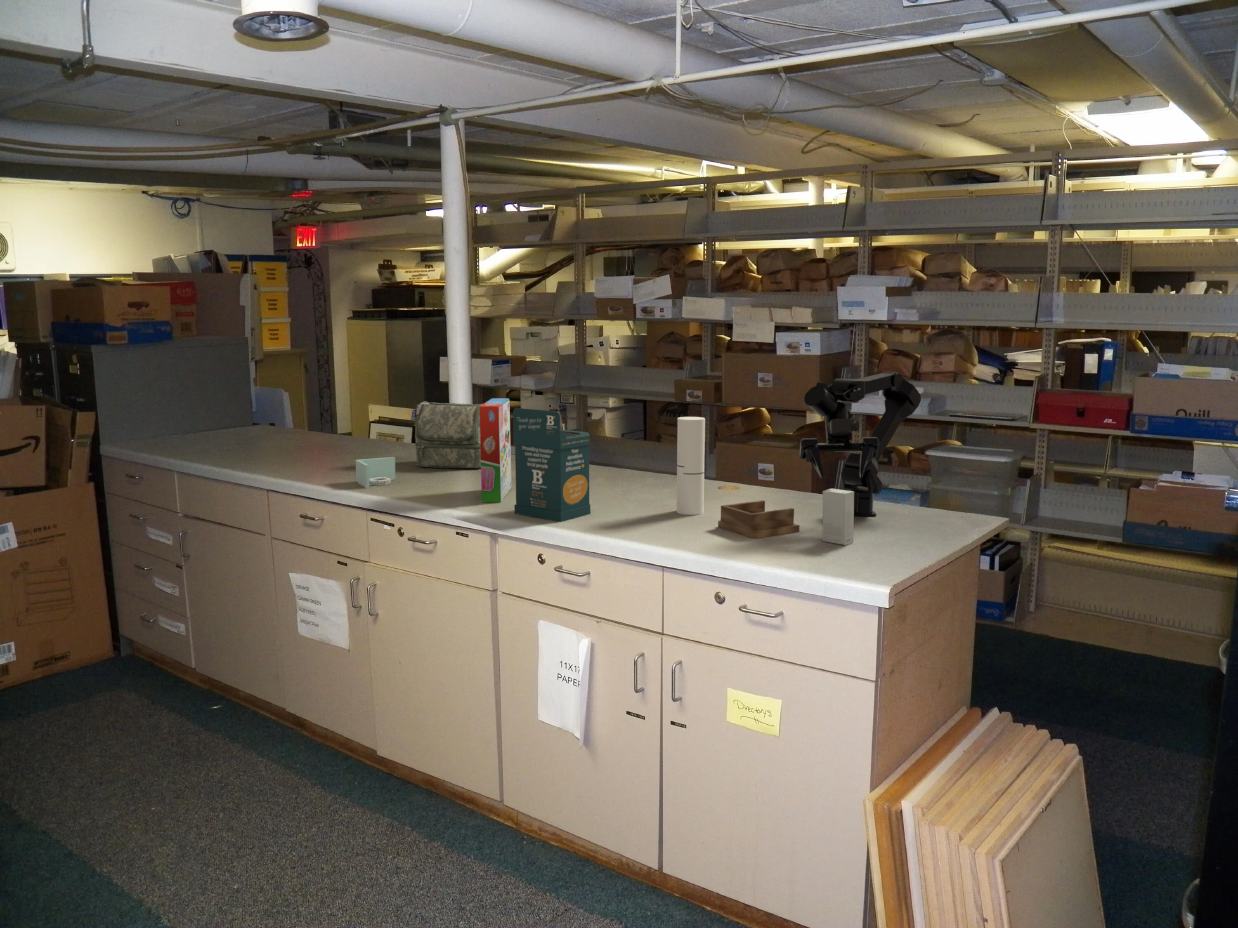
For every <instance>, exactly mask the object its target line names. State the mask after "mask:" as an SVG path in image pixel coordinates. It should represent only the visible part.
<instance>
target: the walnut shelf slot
mask: <svg viewBox="0 0 1238 928" xmlns="http://www.w3.org/2000/svg"><path fill="white" fill-rule="evenodd" d="M794 518H795V508H792V507H791V508H789V507H788V508H783V509H775V510H768V511H766V501H765V500H763V499H761V500H754V501H747V502H739V503H738V502H737V503H731V504H723V505H720V520H717V527H718V528H721V529H725V530H728V531H730V532H733V533H737V534H739V535H742V536H745V537H747V538H748V537H749V538H751V539H759V538H765V537H771V536H778V535H784V534H791V533H797V532H800V527H801V526H800V524H796V523H795V521H794Z"/></svg>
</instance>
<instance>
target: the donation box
mask: <svg viewBox="0 0 1238 928" xmlns="http://www.w3.org/2000/svg"><path fill="white" fill-rule="evenodd" d="M512 417H513V418H512V419H513V420H512V421H513V423H512V426H513V427H512V429H513V430H512V431H513V432H512V434H513V435H512V437H513V438H512V439H513V445H514V453H515V454H514V458H515V459H514V462H515V504H514V505H513V506H514V507H513V508H514V509H513V510H514V514H515V515H520V516H527V517H531V518H537V519H542V520H550V521H554V522H560V523H562V522H566V521H570V520H574V519H578V518H580V517H581V518H582V517H585V516H588V515H591V504H590V445H591V435H590V433H589V432H587V431H580V430H579V431H578V430H569V429H561V426H562V425H561V422H562V421H561V419H562V418H561V417H562V416H561V413H560V412H559V411H556V410H544V409H534V408H533V409H532V408H523V407H516V408H514V409H513V411H512Z"/></svg>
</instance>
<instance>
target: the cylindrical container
mask: <svg viewBox="0 0 1238 928" xmlns="http://www.w3.org/2000/svg"><path fill="white" fill-rule="evenodd" d="M676 432H677V439H676V441H677V443H676V444H677V445H676V446H677V447H676V449H677V451H676V453H677V454H676V459H677V460H676V513H677V514H680V515H684V516H695V515H696V516H697V515H701V514H702V515H703V514H704V513H705V512H704V510H705V507H704V506H705V499H704V498H705V454H706V453H705V451H706V450H705V449H706V448H705V442H706V441H705V439H706V418H705V417H701V416H680V417H677V431H676Z"/></svg>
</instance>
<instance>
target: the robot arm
mask: <svg viewBox="0 0 1238 928" xmlns="http://www.w3.org/2000/svg"><path fill="white" fill-rule="evenodd" d="M880 391H881V395H882V396H883V398H884V402H883V403H884V412H883V414H882V416H881V418H880V419H879V421H878V423H877V424H876V426H875V427H874V430H873V431H872V433H871V434H870V436H862V437H861V442H852V441H851V440H853V432H858V431H859V429H860V419H859V416H851V414H852V413H851V411H850V409H849V408H848V405H846V404H845V403H853V404H856V403H859V402H860V401H862V400H863V399H864V398H865V397H866V395H868V394H873V393H876V392H880ZM921 401H922V396H921V394H920V392H919V390H918V389H917V388H916V387H915V385H914V384H912V383H911V382H909V381H908V380H906V379H905V378H904V377H903V375H902V374H901V373H898V372H896V371H883V372H881V373H877V374H873V375H869V376H865V377H861V378H858V379H857V378H856V379H853V378H835V379H833V380H832V382H831V384H830V385H827V384H826V383H825V382H821V381H818V382H817V383H816V385H815V386H813V387H810V389H808V391H807V392H806V393H805V395H804V403H805V405H807V406H808V407H809V408H810V409H811V410H812V411H813V412H815V413H816V414H817V415H818V416H820V417H824V423H825V425H824V427H825V438H826V443H823V442H820V443H818V437H809V438H807V437H806V438H805V437H804V438H801V439H800V442H799V443H800V444H799V458H800V459H801V460H805V462H808V463H810V464H811V465H812V467H814V470H815V471H816V472H817V474H818V476H819V478H820V479H821V480H823V479H824V471H823V465H822V460H821V455H820V453H821V452H823V453H824V452H830V453H831V452H835V453H839V452H840V453H842V452H843V453H844V452H845V453H849V455H848V457H847V459H846V461H845V462H843V466H842V470H841V474H840V475H841V480H842V484H843V485H842V486H843V490H848V491H853V492H854V516H857V517H858V516H863V517H864V516H867V517H868V516H869V517H870V516H872V517H873V516H875V517H876V516H877V513H876V512H875V511H874V494H879V493H881V492H882V489H883V485H884V484H883V482H882V481H881V478H879V476H878V474H879V460H880V458H881V456H882V455H883V454H884V451H885V450H886V448H887V447H888V445H889V443H890V442H891V440H892V438H893V436H894V434H895V433H896V431H897V430H898V428H899V427H900V425H901V423H902V421H903V420H905V419H906V418H909V417H910V416H912V415H913V414H914V413H915V411H916V410H917V409H918V408H919V406H920V405H921ZM849 416H850V418H849ZM850 452H851V453H850ZM855 452H856V453H855ZM857 452H859V453H857Z"/></svg>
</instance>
